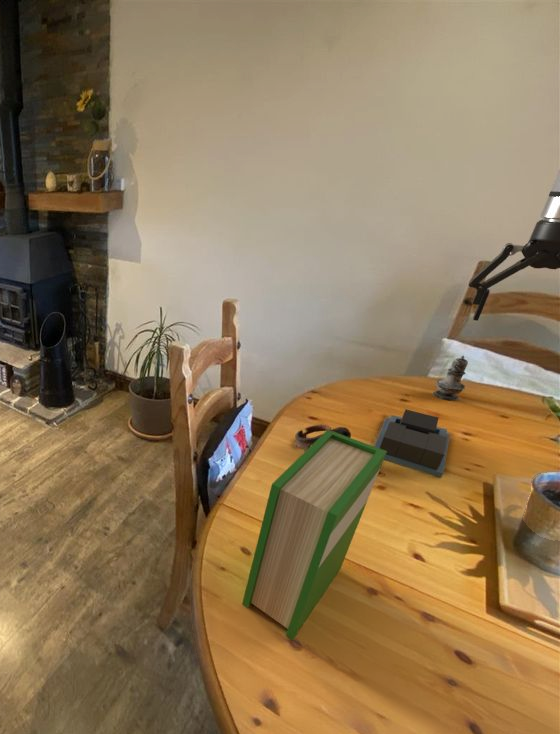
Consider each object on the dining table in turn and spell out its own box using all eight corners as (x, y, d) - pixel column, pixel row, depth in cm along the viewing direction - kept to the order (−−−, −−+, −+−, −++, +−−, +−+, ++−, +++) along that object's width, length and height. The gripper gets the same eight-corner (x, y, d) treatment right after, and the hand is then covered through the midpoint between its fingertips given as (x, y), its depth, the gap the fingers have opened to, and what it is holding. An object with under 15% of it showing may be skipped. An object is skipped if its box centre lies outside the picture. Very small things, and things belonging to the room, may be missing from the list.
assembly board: (448, 438, 97) (456, 419, 94) (441, 478, 85) (450, 457, 83) (384, 421, 104) (391, 403, 102) (370, 455, 93) (377, 436, 90)
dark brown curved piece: (330, 477, 88) (315, 443, 87) (294, 469, 97) (281, 438, 96) (370, 450, 90) (356, 417, 90) (332, 444, 100) (319, 414, 99)
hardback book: (292, 640, 59) (337, 515, 48) (242, 604, 64) (271, 483, 53) (340, 568, 68) (387, 451, 57) (293, 542, 73) (327, 429, 62)
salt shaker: (426, 393, 115) (442, 353, 109) (441, 389, 116) (458, 349, 110) (449, 403, 110) (468, 361, 104) (465, 398, 111) (484, 357, 105)
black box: (431, 433, 97) (438, 417, 94) (427, 449, 92) (435, 433, 90) (399, 424, 100) (405, 409, 98) (393, 440, 95) (400, 423, 93)
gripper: (477, 221, 86) (441, 319, 95) (681, 222, 70) (613, 339, 80) (477, 217, 91) (443, 310, 100) (668, 217, 75) (605, 328, 85)
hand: (518, 323), depth 90 cm, fingers open, 13 cm apart
